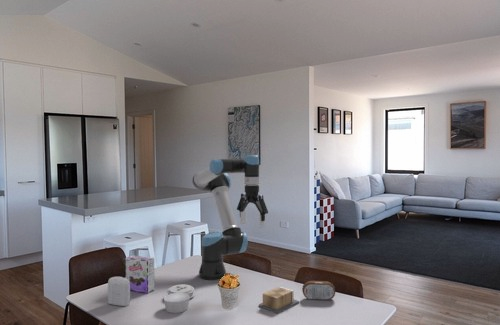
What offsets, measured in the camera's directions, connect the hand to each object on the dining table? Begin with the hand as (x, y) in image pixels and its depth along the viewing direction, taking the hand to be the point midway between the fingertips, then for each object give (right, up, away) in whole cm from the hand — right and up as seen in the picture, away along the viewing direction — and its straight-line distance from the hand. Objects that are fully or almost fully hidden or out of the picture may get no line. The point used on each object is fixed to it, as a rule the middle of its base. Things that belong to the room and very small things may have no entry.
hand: (252, 225), depth 192 cm
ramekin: (-33, -32, -30) cm, 55 cm away
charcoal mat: (+12, -31, -27) cm, 43 cm away
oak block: (+7, -28, -32) cm, 43 cm away
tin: (+31, -31, -21) cm, 49 cm away
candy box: (-56, -31, -7) cm, 65 cm away
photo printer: (-61, -32, -24) cm, 73 cm away
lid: (-34, -32, -17) cm, 49 cm away
